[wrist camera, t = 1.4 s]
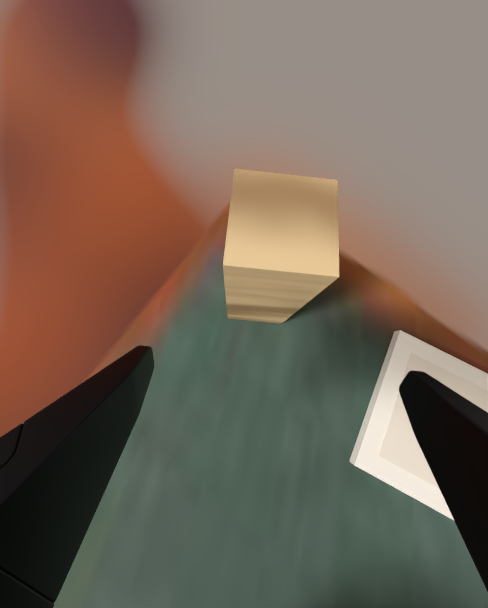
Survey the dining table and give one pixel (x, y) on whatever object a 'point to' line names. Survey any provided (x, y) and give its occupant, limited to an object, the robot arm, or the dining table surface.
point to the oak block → (279, 244)
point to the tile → (395, 423)
